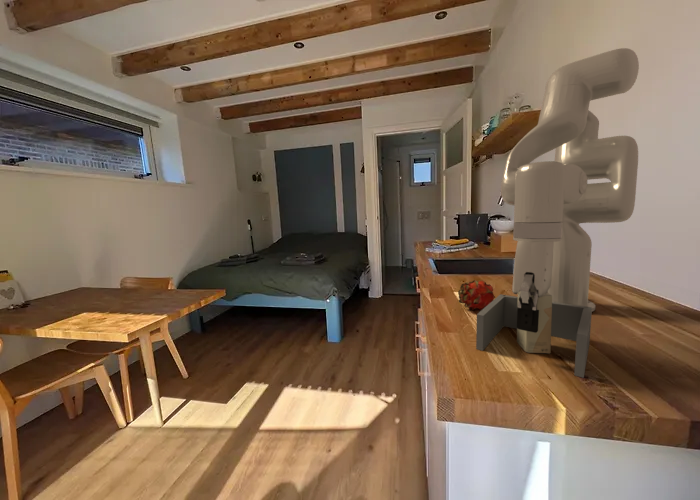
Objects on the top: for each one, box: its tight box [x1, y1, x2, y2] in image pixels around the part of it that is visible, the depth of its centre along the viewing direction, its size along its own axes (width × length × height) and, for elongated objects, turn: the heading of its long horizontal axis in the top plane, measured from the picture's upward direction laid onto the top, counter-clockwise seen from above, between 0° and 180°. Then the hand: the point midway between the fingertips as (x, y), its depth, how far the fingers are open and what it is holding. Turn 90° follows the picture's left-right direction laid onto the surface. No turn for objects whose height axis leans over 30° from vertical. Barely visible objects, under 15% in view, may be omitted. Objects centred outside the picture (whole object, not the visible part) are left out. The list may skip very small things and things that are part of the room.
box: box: [516, 292, 552, 354], centre depth 56 cm, size 5×4×11 cm
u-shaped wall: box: [475, 294, 593, 379], centre depth 57 cm, size 16×16×7 cm
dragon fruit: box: [457, 279, 496, 311], centre depth 79 cm, size 8×8×12 cm
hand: (532, 322), depth 56 cm, fingers open, 9 cm apart
